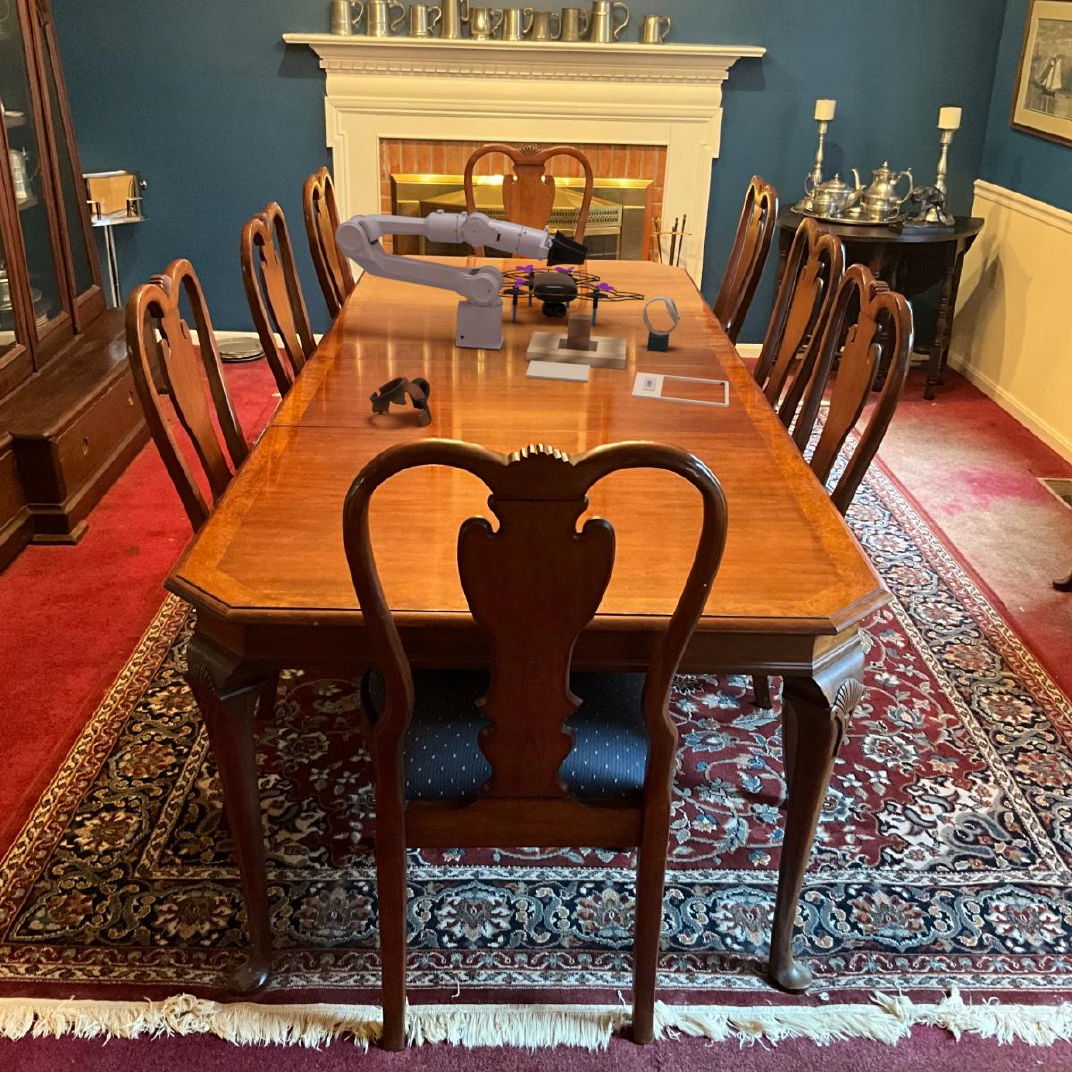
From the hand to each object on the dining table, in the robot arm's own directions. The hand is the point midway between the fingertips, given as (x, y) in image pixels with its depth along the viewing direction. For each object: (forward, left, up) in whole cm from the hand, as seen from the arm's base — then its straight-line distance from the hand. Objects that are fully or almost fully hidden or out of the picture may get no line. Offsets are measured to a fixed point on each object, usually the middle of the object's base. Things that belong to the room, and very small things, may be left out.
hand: (585, 256), depth 215 cm
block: (0, -2, -20) cm, 20 cm away
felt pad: (-3, -16, -20) cm, 26 cm away
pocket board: (0, -2, -20) cm, 20 cm away
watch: (+17, +8, -20) cm, 28 cm away
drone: (-8, +30, -20) cm, 37 cm away
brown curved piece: (-27, -49, -20) cm, 59 cm away
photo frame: (+21, -21, -21) cm, 36 cm away
